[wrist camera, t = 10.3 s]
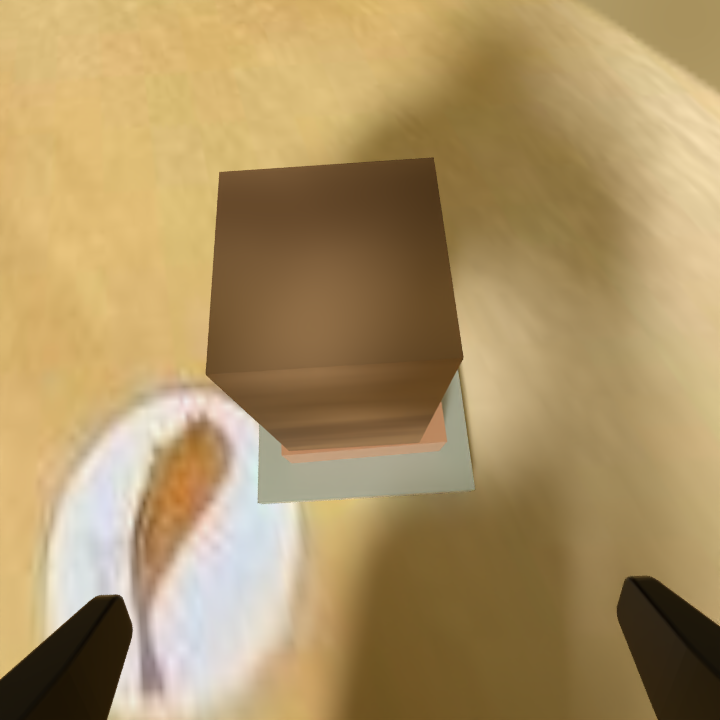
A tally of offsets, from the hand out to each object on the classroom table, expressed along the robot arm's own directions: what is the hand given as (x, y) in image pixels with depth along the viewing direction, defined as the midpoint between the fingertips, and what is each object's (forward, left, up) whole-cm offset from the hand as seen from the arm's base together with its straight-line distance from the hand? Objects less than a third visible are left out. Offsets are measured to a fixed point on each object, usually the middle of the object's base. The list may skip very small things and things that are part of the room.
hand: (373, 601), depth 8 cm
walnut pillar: (+6, +4, -10) cm, 12 cm away
